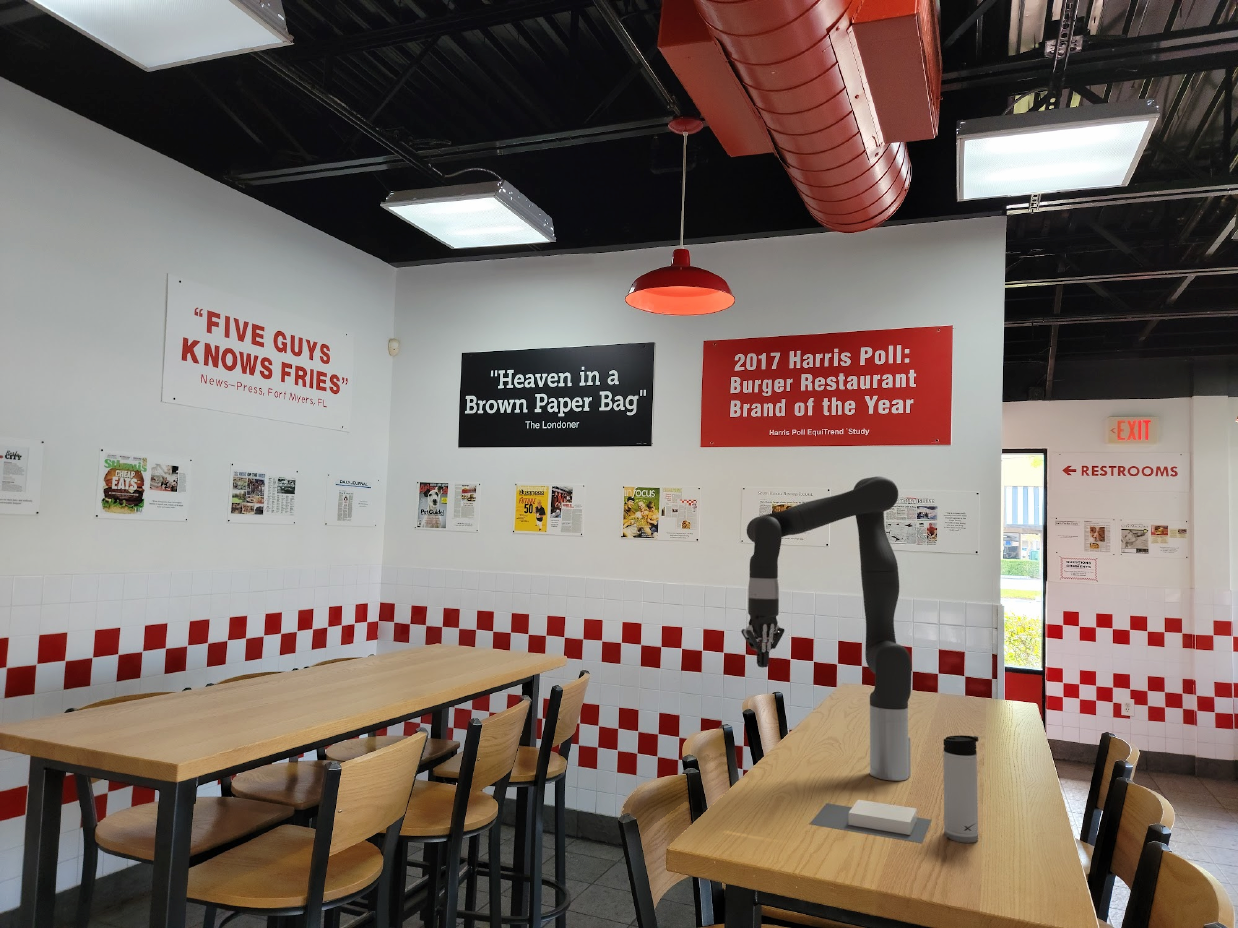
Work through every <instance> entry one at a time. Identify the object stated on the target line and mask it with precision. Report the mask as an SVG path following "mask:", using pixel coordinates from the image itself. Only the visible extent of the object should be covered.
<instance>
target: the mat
mask: <svg viewBox="0 0 1238 928" xmlns="http://www.w3.org/2000/svg"><path fill="white" fill-rule="evenodd" d="M852 807H853V806H848V805H847V806H846V805H841V804H835V803H828V802H826V803H825V804H824V805H823V807H822V808H821V809H820V810H819V812H818V813H817V814H816V815H815V816H814V818H813V819H812V820H811V821H810V822H809V823H808V825H811V826H817V827H822V828H829V829H834V830H835V829H836V830H841V831H846V832H852V833H858V834H864V835H871V836H875V837H876V836H877V837H881V838H883V837H884V838H888V839H893V840H899V841H904V842H911V843H915V844H916V843H917V844H923V843H924V840H925V837H926V835H927V833H928V830H929V828H930V825H931V822H932V819H929V818H925V817H924V818H923V817H918V816H917V821H916V823H915V825H914V828H913V830H912V832H911V834H910V835H908V834H901V833H895V832H889V831H883V830H877V829H871V828H865V827H859V826H853V825H849V811H850V810H851V809H852Z"/></svg>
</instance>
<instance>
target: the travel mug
mask: <svg viewBox="0 0 1238 928" xmlns="http://www.w3.org/2000/svg"><path fill="white" fill-rule="evenodd" d="M977 742H979V737H978V736H974V735H973V736H972V735H962V734H961V735H960V734H959V735H958V734H957V735H950V736H946V737H945V738H943V750H942V751H943V754H942V756H943V827H944V828H943V831H944V832H943V833H944V836H946V837H947V839H949V840H950V841H953V842H957V843H962V844H973V843H975V842H978V839H979V831H978V830H979V820H978V819H979V814H978V813H979V811H978V809H979V807H978V806H979V805H978V804H979V803H978V801H979V800H978V758H977V757H978V752H977Z"/></svg>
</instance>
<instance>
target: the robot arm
mask: <svg viewBox="0 0 1238 928" xmlns="http://www.w3.org/2000/svg"><path fill="white" fill-rule="evenodd" d="M898 499H899V489H898V487H897V485H896V484H895V482H893V480H891V479H889V478H888V477H884V476H871V477H866V478H862V479H860V480H858V481H857V483H855V485H854V487H853V489H851V490H849V491H845V492H842V493H840V494H839V493H838V494H837V495H831V496H827V497H823V498H818V499H814V500H811V501H807V502H803V503H800V504H796V505H793V506H791V507H788V508H785V509H783V510H781V511H780V510H779V511H776V512H771V513H767V514H764V515H763V514H762V515H760V516H756V517H755V518H752V519H751V520H750V521H749V522H748V524H747V526H746V535H747V537H748V539H749V540H750V542H753V543H754V548H753V554H752V556H750V559H749V581H748V589H747V591H748V592H747V594H748V595H747V603H748V604H747V606H748V607H747V614H748V615H749V620H748V626H747V627H746V628H743V629H741V635H742V636H743V638H744V640H745V641H746V643H747V644H748V646H749V648H750V649H751V650H754V651H756V664H757V667H758V668H762V669H763V668H768V667H769V664H770V652H771V650H773V649H774V650H776V648H777V646H778V644H779V643H780V641H781V639H782V637H783V635H784V633H785V628H784V627H780V626H779V624H778V618H777V617H778V616H779V611H780V610H779V608H780V607H779V605H780V604H779V603H780V602H779V601H780V600H779V599H780V598H779V597H780V593H779V592H780V591H779V590H780V588H779V579H778V577H779V573H778V572H779V569H778V568H779V567H778V565H779V564H778V563H779V561H778V560H779V556H780V551H781V546H782V545H781V544H782V538H784V537H787V536H794V535H798V534H803V533H806V532H808V531H809V532H810V531H812V530H814V529H815V530H816V529H818V528H821V527H823V526H827V525H829V524H833V523H834V522H835V523H836V522H838V521H841V520H844V519H847V518H850V517H854V516H855V520H856V521H855V522H856V526H857V533H858V544H859V545H858V547H859V548H858V550H859V556H860V558H859V559H860V560H859V561H860V575H861V587H862V596H863V608H864V614H865V615H864V616H865V648H864V649H865V651H864V652H865V654H864V655H865V661H866V662H865V663H866V665H867V667H868V669H869V670H870V671H871V673H873V674H874V675H875V676H874V677H875V679H874V689H873V691H872V692H871V693H870V695H869V774H870V776H871V777H873V778H877V779H880V780H886V781H898V782H899V781H906V780H908V779H909V777H911V772H912V771H911V770H912V769H911V760H912V759H911V757H912V756H911V755H912V753H911V750H912V749H911V737H910V736H909V708H908V707H909V699H910V697H911V694H912V673H913V672H912V666H913V665H912V658H911V655H910V654H909V651H908V650H907V648H905V647H904V646H903V645H901V644H899V643H897V640H896V634H895V633H896V632H895V623H894V622H895V613H896V609H897V604H898V600H899V595H900V576H899V566H898V565H899V564H898V560H897V557H896V555H895V552H894V550H893V548H892V545H891V543H890V541H889V538H888V535H887V532H886V526H885V512H887V511H889V510H890V509H892V508H893V507H894V506H895V504H896V503H897V502H898Z"/></svg>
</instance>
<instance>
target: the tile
mask: <svg viewBox="0 0 1238 928" xmlns="http://www.w3.org/2000/svg"><path fill="white" fill-rule="evenodd" d="M851 807H852V809H851V810H850V811H849V825H853V826H859V827H865V828H871V829H877V830H883V831H889V832H895V833H901V834H908V835H910V834H911V832H912V830H913V828H914V825H915V823H916V821H917V817H918V815H917V814H918V810H917V808H916V807H907V806H902V805H895V804H887V803H883V802H878V801H877V802H876V801H870V800H862V799H857V800H856V801H855V803H854V804H853V806H851Z"/></svg>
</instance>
